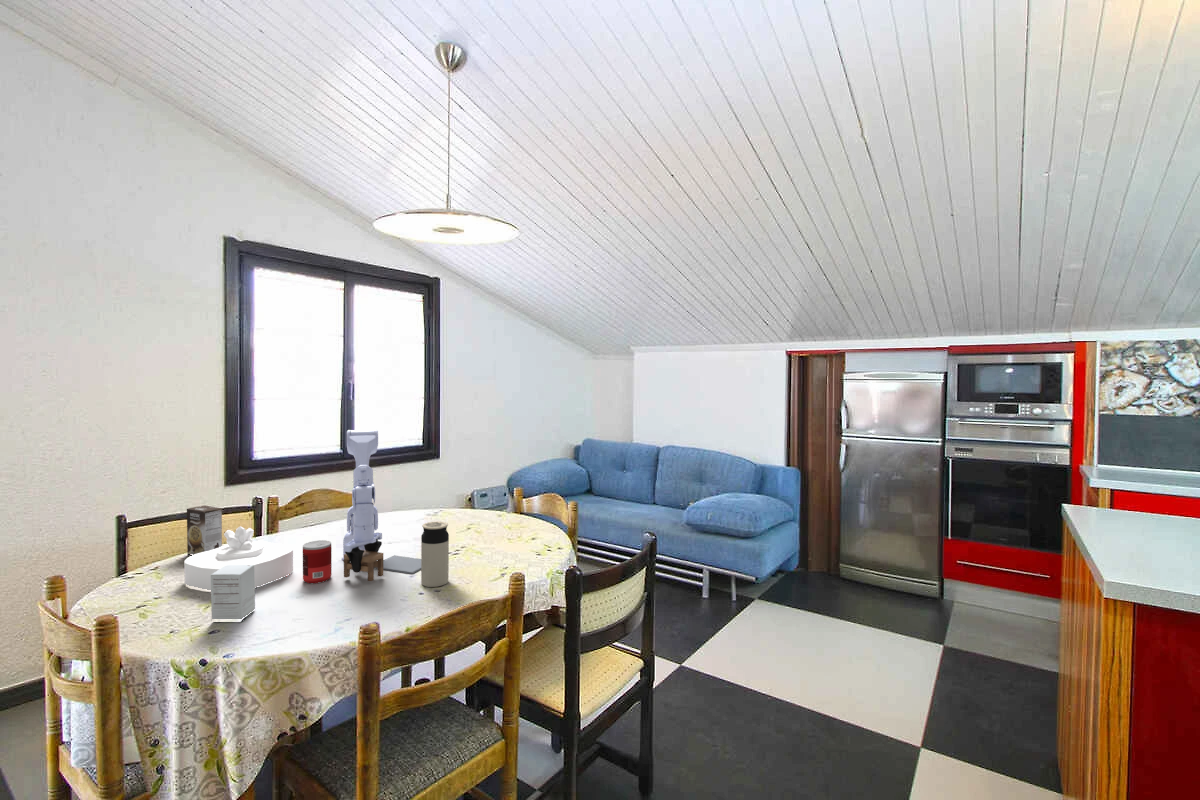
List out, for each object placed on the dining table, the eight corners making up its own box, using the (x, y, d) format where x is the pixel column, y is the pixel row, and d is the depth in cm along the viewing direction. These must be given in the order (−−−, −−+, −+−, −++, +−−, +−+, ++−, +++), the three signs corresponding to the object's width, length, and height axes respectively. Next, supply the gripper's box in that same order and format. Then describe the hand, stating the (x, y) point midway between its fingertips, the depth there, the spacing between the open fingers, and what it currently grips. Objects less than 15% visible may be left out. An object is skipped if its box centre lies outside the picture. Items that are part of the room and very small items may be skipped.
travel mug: (424, 589, 171) (424, 529, 171) (419, 580, 178) (419, 522, 178) (451, 585, 175) (451, 526, 174) (445, 576, 182) (445, 520, 181)
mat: (370, 567, 189) (370, 566, 189) (394, 556, 200) (394, 555, 200) (412, 574, 184) (412, 572, 184) (434, 562, 195) (434, 560, 195)
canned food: (337, 576, 181) (337, 541, 180) (316, 585, 173) (316, 549, 173) (317, 573, 183) (317, 538, 183) (296, 582, 176) (296, 546, 175)
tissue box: (170, 586, 171) (169, 532, 170) (247, 560, 195) (247, 513, 194) (232, 598, 163) (231, 541, 162) (305, 570, 186) (305, 520, 185)
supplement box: (226, 611, 154) (225, 564, 153) (255, 611, 154) (255, 564, 154) (210, 623, 146) (209, 574, 146) (241, 623, 147) (240, 573, 146)
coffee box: (186, 555, 198) (185, 508, 197) (205, 550, 204) (204, 504, 203) (204, 559, 195) (203, 511, 194) (223, 553, 201) (222, 507, 200)
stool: (343, 577, 178) (343, 554, 177) (356, 571, 183) (356, 549, 183) (371, 581, 175) (371, 558, 174) (383, 575, 180) (383, 552, 180)
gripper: (357, 532, 170) (357, 577, 171) (390, 520, 184) (390, 562, 184) (338, 529, 172) (338, 574, 173) (371, 518, 186) (371, 559, 187)
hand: (363, 568), depth 179 cm, fingers closed on stool, 6 cm apart
